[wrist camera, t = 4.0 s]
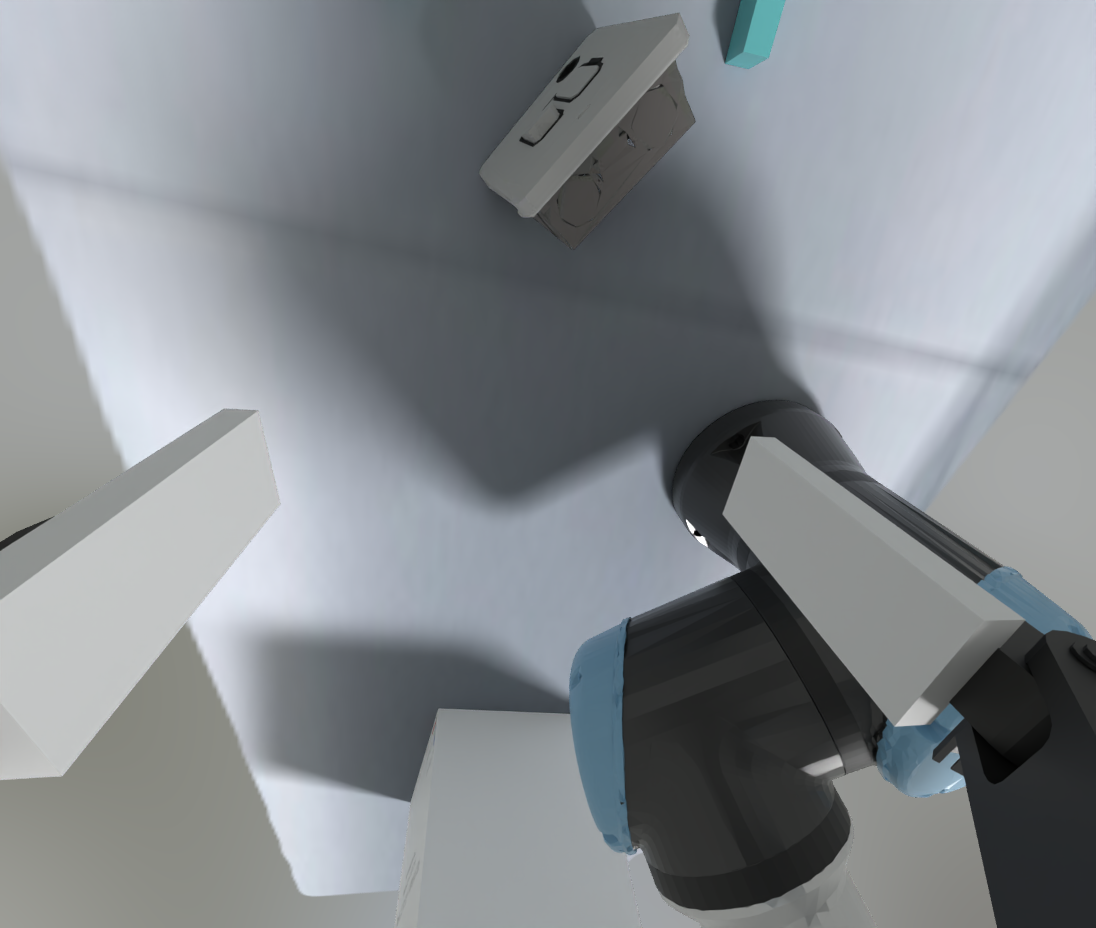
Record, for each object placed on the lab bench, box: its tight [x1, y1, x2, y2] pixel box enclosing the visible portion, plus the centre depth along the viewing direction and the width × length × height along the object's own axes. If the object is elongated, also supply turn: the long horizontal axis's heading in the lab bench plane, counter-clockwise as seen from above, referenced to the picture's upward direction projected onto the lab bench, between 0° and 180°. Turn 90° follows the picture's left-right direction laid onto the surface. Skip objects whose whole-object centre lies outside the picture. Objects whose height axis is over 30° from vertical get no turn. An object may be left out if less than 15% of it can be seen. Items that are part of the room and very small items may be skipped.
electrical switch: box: [479, 13, 695, 250], centre depth 21 cm, size 9×5×9 cm, turn 133°
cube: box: [394, 708, 642, 928], centre depth 50 cm, size 25×21×24 cm
